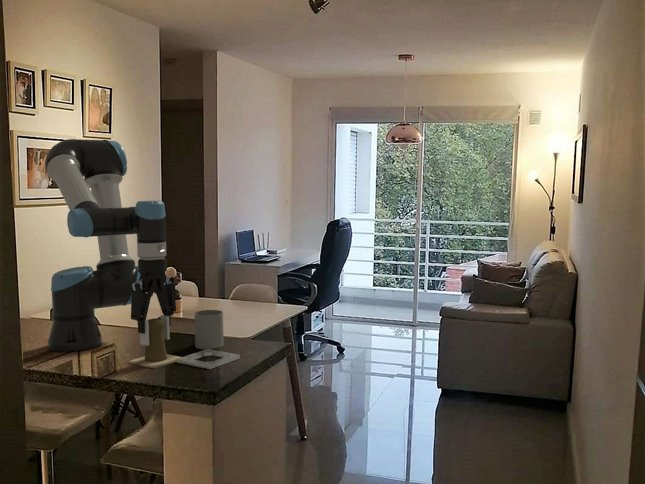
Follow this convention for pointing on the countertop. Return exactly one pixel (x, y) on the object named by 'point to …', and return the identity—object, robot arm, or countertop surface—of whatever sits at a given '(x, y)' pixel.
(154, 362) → the coaster
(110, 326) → the countertop surface
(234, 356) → the plate
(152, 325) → the pepper shaker
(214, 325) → the cup
